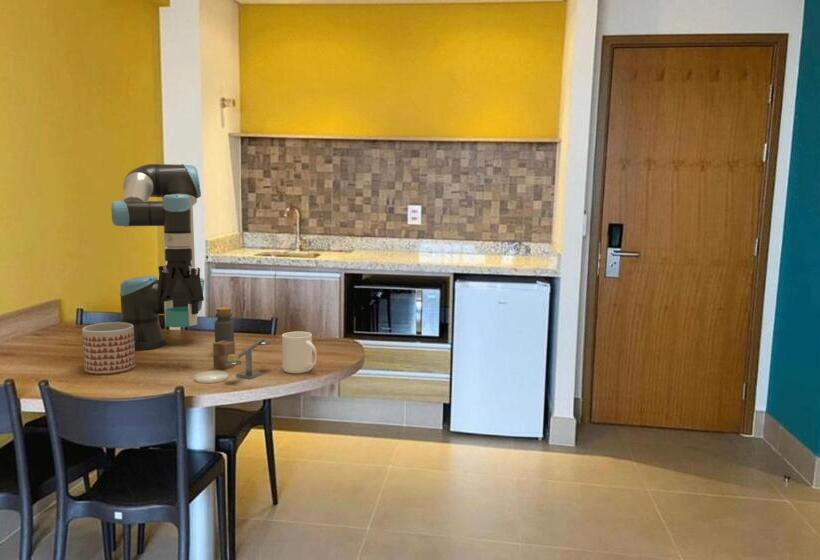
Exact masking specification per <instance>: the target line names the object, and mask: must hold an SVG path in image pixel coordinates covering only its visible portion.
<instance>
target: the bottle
mask: <svg viewBox="0 0 820 560" xmlns="http://www.w3.org/2000/svg"><path fill="white" fill-rule="evenodd" d="M215 309H216V310H215V311H216V313H215V318H217V320H215V321H214V343H216V342H219V341H231V342H235V332H234V331H235V329H234V321H233V320H232V319H231V318H232V317H233V313H232V312H231V311H232V307H229V306H219V307H216V308H215Z"/></svg>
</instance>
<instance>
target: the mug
mask: <svg viewBox="0 0 820 560" xmlns="http://www.w3.org/2000/svg"><path fill="white" fill-rule="evenodd" d="M281 338H282V340H281V342H282V343H281V344H282V348H281V349H282V370H283V372H285V373H288V374H305V373H308V372H310V371H311V370H312V368H313V367H314V366H315V365H316V363H317V359H318V358H317V355H318V353H317V348H316V346H315V344H313V333H311V332H308V331H290V332H285V333H282V335H281ZM313 353H314V358H315V359H314V360H313Z"/></svg>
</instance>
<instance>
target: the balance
mask: <svg viewBox="0 0 820 560" xmlns="http://www.w3.org/2000/svg"><path fill="white" fill-rule="evenodd" d="M271 342H272V341H270V340H265V338H260V339H259V340H257V341H255V342H254V343H252V344H251V345H249V346H248V347H247V348H245V349H243V350H242V351H241V352H240V353H238V354H237V353H235V354H230V355H228V361H226V362H225V365H227V366H235V367H236V366H239V365H242V361H241V359H240V358H242V357H243V356H245V370H243V371H241V372H238V373H236V375H235V376H236V378H241V379H242V378H243V379H246V380H247V379H248V380H251V379H255V378H257V377H260V376H261V375H263V373H262V371H257V370H253V366H252V365H253V361H252V360H253V359H252V357H253V356H252V355H253V354H252V350H254V349H255V348H257V347H258V346H268V345H269V346H270V345H271V344H272V343H271Z"/></svg>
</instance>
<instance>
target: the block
mask: <svg viewBox="0 0 820 560" xmlns="http://www.w3.org/2000/svg"><path fill="white" fill-rule="evenodd" d="M235 344H236V342H235V341H234V342H231V341H219V342H216V343H215V342H213V343H212V349H213V350H212V355H213V358H212V360H213V361H212V362H213V369H218V370H226V371H227V370H228V369H232V368H234V367H236V366H227V365H225V362H226V361H228V355H230V354H236V348H235V347H236V345H235Z"/></svg>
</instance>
